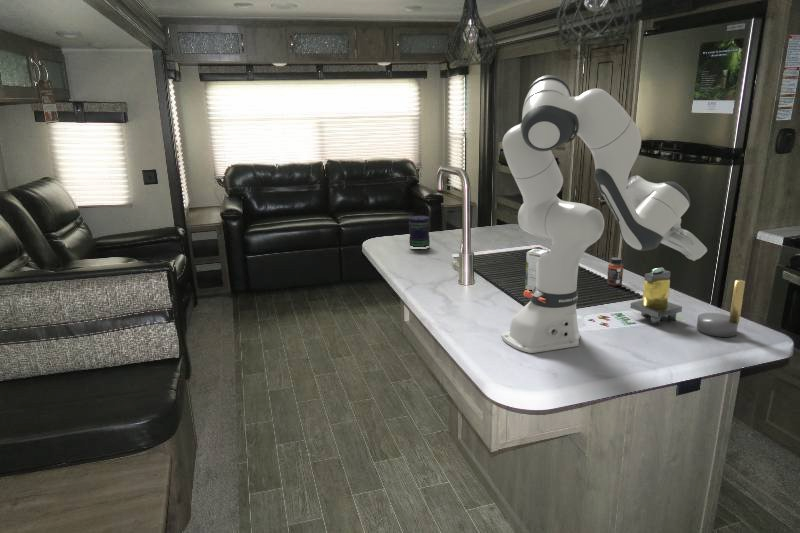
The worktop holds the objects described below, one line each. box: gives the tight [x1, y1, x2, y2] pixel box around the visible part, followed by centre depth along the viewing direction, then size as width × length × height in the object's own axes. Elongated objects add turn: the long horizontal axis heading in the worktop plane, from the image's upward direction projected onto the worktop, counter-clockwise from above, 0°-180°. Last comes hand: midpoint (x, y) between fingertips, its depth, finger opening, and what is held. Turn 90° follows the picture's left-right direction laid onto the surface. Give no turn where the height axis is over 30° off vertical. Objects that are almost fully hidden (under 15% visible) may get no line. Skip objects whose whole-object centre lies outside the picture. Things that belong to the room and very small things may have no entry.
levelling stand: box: [630, 267, 683, 327], centre depth 163 cm, size 10×10×16 cm
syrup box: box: [524, 248, 549, 292], centre depth 194 cm, size 6×6×14 cm
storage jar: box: [408, 215, 431, 247], centre depth 260 cm, size 10×10×15 cm
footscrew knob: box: [696, 279, 746, 338], centre depth 153 cm, size 10×10×15 cm
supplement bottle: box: [606, 256, 624, 287], centre depth 197 cm, size 5×5×10 cm
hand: (693, 257), depth 149 cm, fingers closed
